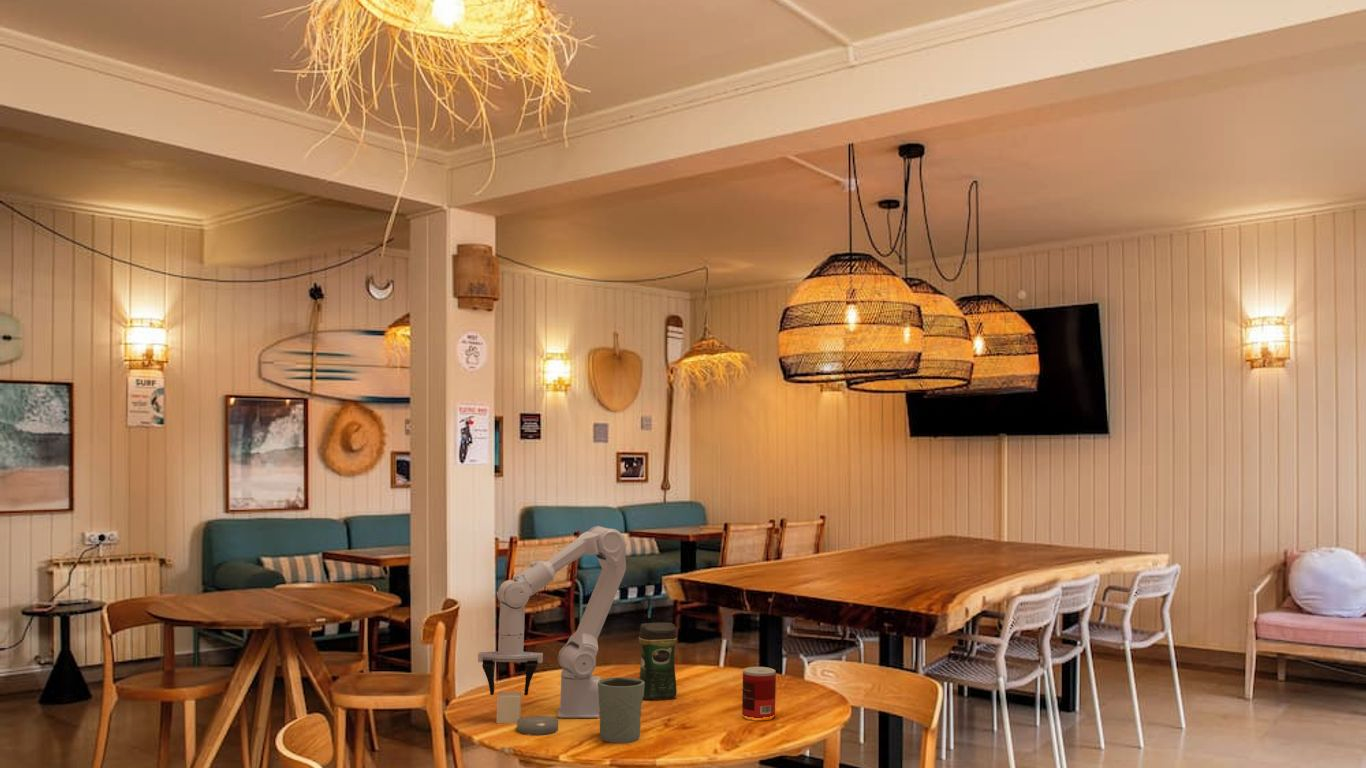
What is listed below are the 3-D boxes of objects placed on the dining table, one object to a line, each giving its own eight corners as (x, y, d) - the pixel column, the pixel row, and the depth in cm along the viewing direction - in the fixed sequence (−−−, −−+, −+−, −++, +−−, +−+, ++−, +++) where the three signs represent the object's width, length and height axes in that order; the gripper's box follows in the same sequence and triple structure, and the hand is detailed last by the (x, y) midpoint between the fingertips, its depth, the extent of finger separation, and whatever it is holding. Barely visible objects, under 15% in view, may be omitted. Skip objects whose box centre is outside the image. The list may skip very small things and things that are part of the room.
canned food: (779, 715, 252) (780, 668, 253) (767, 723, 245) (768, 674, 246) (749, 711, 255) (750, 665, 256) (737, 718, 248) (737, 671, 249)
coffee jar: (670, 692, 274) (672, 619, 275) (679, 699, 266) (681, 624, 267) (634, 694, 271) (636, 620, 272) (641, 701, 263) (643, 625, 264)
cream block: (520, 718, 245) (521, 691, 245) (518, 723, 240) (519, 696, 240) (498, 718, 244) (499, 691, 245) (496, 723, 239) (497, 696, 240)
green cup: (605, 745, 223) (606, 687, 224) (589, 733, 232) (591, 678, 233) (650, 741, 227) (651, 684, 228) (633, 729, 237) (634, 675, 237)
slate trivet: (558, 724, 239) (559, 715, 239) (557, 735, 230) (557, 725, 230) (518, 724, 239) (518, 715, 239) (515, 735, 230) (515, 725, 230)
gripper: (544, 631, 248) (542, 690, 247) (481, 630, 247) (479, 689, 246) (542, 636, 241) (540, 697, 240) (477, 635, 240) (475, 696, 239)
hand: (509, 694), depth 242 cm, fingers open, 7 cm apart
